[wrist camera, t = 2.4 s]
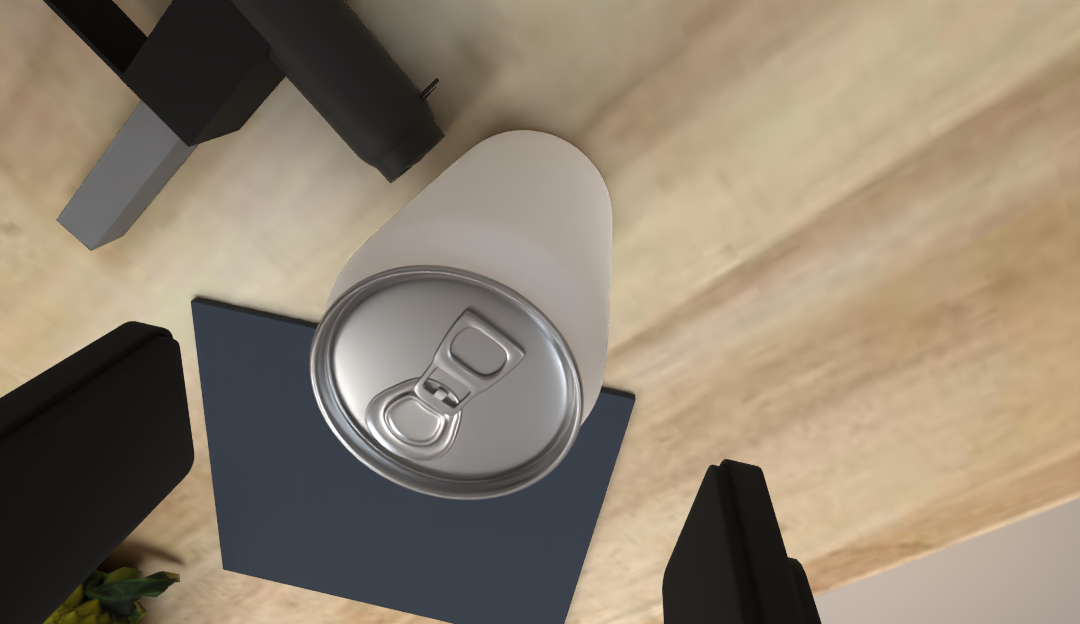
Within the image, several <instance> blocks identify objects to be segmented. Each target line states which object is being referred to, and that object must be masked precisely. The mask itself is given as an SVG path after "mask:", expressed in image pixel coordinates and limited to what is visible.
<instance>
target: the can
mask: <svg viewBox="0 0 1080 624" xmlns="http://www.w3.org/2000/svg"><path fill="white" fill-rule="evenodd" d="M611 260H612V207H611V201H610V197H609V193H608V190H607V187H606V185H605V182H604V180H603V178H602V176H601V175H600V173H599V171H598V170H597V168H596V167H595V166H594V164H593V163H592V162H591V161H590V160H589V158H588V157H587V156H586V155H585V154H583V153H582V152H581V151H580V150H579V149H577V148H576V147H575V146H573V145H572V144H570V143H568V142H567V141H565V140H563V139H561V138H559V137H556V136H553V135H551V134H547V133H543V132H538V131H530V130H517V131H509V132H504V133H500V134H497V135H494V136H492V137H490V138H487V139H485V140H483V141H482V142H480V143H478V144H477V145H475V146H474V147H473V148H471V149H470V150H469V151H467V152H466V153H465V154H464V155H462V156H461V157H460V158H459V159H458V160H457V161H455V162H454V163H453V164H452V165H451V166H450V167H449V168H447V169H446V170H445V171H444V172H443V173H442V174H441V175H439V176H438V177H437V178H436V179H435V180H434V181H433V182H431V183H430V184H429V185H428V186H427V187H426V188H425V189H424V190H422V191H421V192H420V193H419V194H418V195H417V196H416V197H415V198H413V199H412V200H411V201H410V202H409V203H408V204H407V205H406V206H404V207H403V208H402V209H401V210H400V211H399V212H398V213H397V214H396V215H394V216H393V217H392V218H391V219H390V220H389V221H388V222H387V223H386V224H385V225H383V226H382V227H381V228H380V229H379V230H378V231H377V232H376V233H375V234H374V235H373V236H372V237H370V238H369V239H368V240H367V241H366V242H365V243H364V244H363V245H362V246H361V247H360V248H359V249H358V250H357V251H356V253H355V254H354V255H353V256H352V257H351V258H350V260H349V261H348V262H347V264H346V265H345V266H344V268H343V269H342V271H341V272H340V274H339V276H338V277H337V279H336V281H335V283H334V285H333V288H332V290H331V293H330V296H329V299H328V303H327V307H326V312H325V314H324V315H323V317H322V319H321V321H320V322H319V325H318V327H317V329H316V332H315V334H314V337H313V341H312V345H311V351H310V378H311V384H312V389H313V393H314V396H315V399H316V402H317V404H318V407H319V409H320V411H321V413H322V415H323V417H324V419H325V421H326V422H327V424H328V426H329V427H330V429H331V430H332V432H333V433H334V434H335V436H336V437H337V438H338V439H339V441H340V442H341V443H342V444H343V445H344V446H345V447H346V448H347V449H348V450H349V451H350V452H351V453H352V454H353V455H354V456H355V457H356V458H357V459H358V460H360V461H361V462H362V463H363V464H365V465H366V466H367V467H369V468H370V469H372V470H373V471H375V472H376V473H378V474H379V475H381V476H383V477H384V478H386V479H388V480H390V481H392V482H394V483H396V484H398V485H401V486H403V487H405V488H408V489H411V490H413V491H416V492H419V493H423V494H427V495H431V496H435V497H441V498H447V499H458V500H479V499H488V498H495V497H500V496H504V495H508V494H511V493H514V492H517V491H519V490H522V489H524V488H526V487H529V486H530V485H532V484H534V483H536V482H538V481H539V480H541V479H542V478H544V477H545V476H546V475H548V474H549V473H550V472H551V471H552V470H553V469H555V468H556V467H557V466H558V465H559V463H560V462H561V461H562V460H563V459H564V457H565V456H566V455H567V453H568V452H569V450H570V449H571V447H572V445H573V443H574V441H575V439H576V437H577V435H578V432H579V429H580V426H581V425H582V424H583V422H584V421H585V419H586V418H587V417H588V415H589V414H590V412H591V410H592V409H593V407H594V405H595V403H596V400H597V398H598V395H599V393H600V390H601V386H602V382H603V378H604V374H605V368H606V359H607V348H608V331H609V310H610V286H611Z"/></svg>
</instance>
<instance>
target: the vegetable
mask: <svg viewBox="0 0 1080 624" xmlns="http://www.w3.org/2000/svg"><path fill="white" fill-rule="evenodd" d="M140 574H141V571H140V570H139V569H137V568H129V567H122V568H120V569H117V570H115V571H112V572H110V573H108V574H107V573H105V572H103V571H100V572H99V571H98V570H96V569H95V570H94V571H93V572H92V573H91V574H90V575H89V577H88V578H87V579H86V580H85V581H84V582H83V583H82V584H81V585H80V586H79V587H78V588H77V589H76V590H75V591H74V592H73V593H72V594H71V595H70V596H69V597H68V598H67V599H66V600H65V601H64V602H63V603H62V604H61V605H60V606H59V607H58V608H57V609H56V611H55V612H54V613H53V614H52V615H51V616H50V617H49V618H48V619H47V620H46V621H45V622H44V623H43V624H139V619H141V618H142V617H144V616H146V613H147V612H146V611H145V610H143V609H142V608H141V607H140V606H139V604H138V602H137V600H138V599H140V598H141V597H142V596H149V597H157V596H159V595H160V594H162V593H163V592H164V591H165V590H166V589H167V588H168V587H169V586H170V585H172V584H173V583H174V582H180V574H175V573H169V572H164V571H161V572H157V573H155V574H153V575H150V576H148V577H145V578H139V576H140Z"/></svg>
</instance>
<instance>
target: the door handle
mask: <svg viewBox="0 0 1080 624" xmlns="http://www.w3.org/2000/svg"><path fill="white" fill-rule="evenodd" d="M43 1H44V2H45V3H46V4H47V5H48V6H49V7H50V8H51V9H52V10H53V11H54V12H55V13H56V14H57V15H58V16H59V17H60V18H61V19H62V20H63V21H64V22H65V23H66V24H67V25H68V26H69V27H70V28H71V29H72V30H73V31H74V32H75V33H76V34H77V35H78V36H79V37H80V38H81V39H82V40H83V41H84V42H85V43H86V44H87V45H88V46H89V47H90V48H91V49H92V50H93V51H94V52H95V53H96V54H97V55H98V56H99V57H100V58H101V59H102V60H103V61H104V62H105V63H106V64H107V65H108V66H109V67H110V68H111V69H112V70H113V71H114V72H115V73H116V74H117V75H118V76H119V77H120V79H121V80H122V81H123V82H124V83H125V84H126V85H127V86H128V87H129V88H130V89H131V90H132V91H133V92H134V93H135V94H136V95H137V96H138V97H139V98H140V99H141V102H140V103H139V105H138V106H137V107H136V109H135V110H134V112H133V113H132V114H131V116H130V117H129V119H128V120H127V121H126V123H125V124H124V126H123V127H122V128H121V130H120V131H119V133H118V134H117V135H116V137H115V138H114V140H113V141H112V142H111V144H110V145H109V147H108V148H107V149H106V151H105V152H104V154H103V155H102V156H101V158H100V159H99V160H98V162H97V163H96V165H95V166H94V167H93V169H92V170H91V172H90V173H89V174H88V176H87V177H86V179H85V180H84V181H83V183H82V184H81V186H80V187H79V188H78V190H77V191H76V193H75V194H74V195H73V197H72V198H71V200H70V201H69V202H68V204H67V205H66V207H65V208H64V209H63V211H62V212H61V214H60V215H59V216H58V218H57V219H56V220H57V221H58V222H59V223H60V224H61V225H62V226H63V227H65V228H66V229H67V230H68V231H69V232H70V233H71V234H72V235H74V236H75V237H76V238H77V239H78V240H79V241H80V242H81V243H83V244H84V245H85V246H86V247H87V248H88V249H89V250H90V251H92V250H94V249H96V248H98V247H101V246H103V245H105V244H107V243H109V242H111V241H114V240H116V239H118V238H120V237H122V236H123V235H124V234H125V233H126V232H127V231H128V229H129V228H130V227H131V226H132V224H133V223H134V222H135V221H136V220H137V218H138V217H139V216H140V215H141V213H142V212H143V211H144V210H145V209H146V207H147V206H148V205H149V204H150V202H151V201H152V200H153V199H154V198H155V196H156V195H157V194H158V193H159V192H160V190H161V189H162V188H163V187H164V185H165V184H166V183H167V182H168V181H169V179H170V178H171V177H172V176H173V174H174V173H175V172H176V171H177V170H178V168H179V167H180V166H181V165H182V163H183V162H184V161H185V160H186V159H187V157H188V156H189V155H190V154H191V152H192V151H193V150H194V149H195V148H196V146H197V145H198V144H199V143H202V142H205V141H208V140H211V139H214V138H217V137H220V136H223V135H226V134H229V133H232V132H235V131H237V130H240V128H241V127H242V126H243V125H244V124H245V122H246V121H247V120H248V119H249V118H250V117H251V115H252V114H253V113H254V112H255V111H256V110H257V108H258V107H259V106H260V105H261V104H262V103H263V101H264V100H265V99H266V98H267V97H268V96H269V94H270V93H271V92H272V91H273V90H274V89H275V87H276V86H277V85H278V84H279V83H280V82H281V80H282V79H283V78H284V77H285V76H287V78H288V79H289V80H290V81H291V82H292V83H293V84H294V85H295V86H296V88H297V89H298V90H299V91H300V92H301V93H302V94H303V95H304V97H305V98H306V99H307V100H308V101H309V102H310V103H311V104H312V105H313V107H314V108H315V109H316V110H317V111H318V112H319V113H320V114H321V115H322V117H323V118H324V119H325V120H326V121H327V122H328V123H329V124H330V125H331V127H332V128H333V129H334V130H335V131H336V132H337V133H338V134H339V136H340V137H341V138H342V139H343V140H344V141H345V142H346V143H347V144H348V146H349V147H350V148H351V149H352V150H353V151H354V152H355V153H356V154H357V156H358V157H360V158H361V159H362V160H363V161H364V162H366V163H367V164H369V165H371V166H373V167H375V168H377V169H378V170H379V171H380V172H381V173H382V175H383V176H384V177H385V178H386V179H387V180H388V181H389V182H390V183H392V182H393V181H395V180H396V179H397V178H399V177H400V176H401V175H402V174H404V173H405V172H406V171H407V170H408V169H410V168H411V167H412V166H413V165H415V164H416V163H418V162H419V161H420V160H421V159H422V158H423V157H424V156H425V155H426V154H427V153H428V152H429V151H430V150H431V149H432V148H433V147H435V146H436V145H437V144H438V143H439V142H440V141H441V140H442V139H443V138H444V137H445V134H444V133H443V132H442V131H441V129H440V128H439V127H438V126H437V125H436V123H435V122H434V118H433V114H432V111H431V109H430V106H429V105H428V103H427V101H426V100H425V99H426V97H427V96H428V95H429V94H430V93H431V92H432V91H433V90H434V89H435V88H436V87H437V86H436V87H435V88H434V89H433V90H432V91H431V92H430V93H428V94H427V95H426V96H425V97H423V96H424V95H425V94H426V93H427V92H428V91H430V90H431V89H432V88H433V87H434V86H435V85H436V84H437V83H438V82H439V79H438V78H436V79H435V80H434V81H433V82H432V83H431V84H430V85H429V86H428V87H427V88H426V89H425V90H424V91H423V92H422V93H420V92H419V91H418V90H417V88H416V87H415V86H414V85H413V84H412V82H411V81H410V80H409V79H408V78H407V76H406V75H405V74H404V73H403V71H402V70H401V69H400V68H399V67H398V65H397V64H396V63H395V62H394V61H393V59H392V58H391V57H390V56H389V55H388V53H387V52H386V51H385V50H384V49H383V47H382V46H381V45H380V44H379V42H378V41H377V40H376V39H375V38H374V36H373V35H372V34H371V33H370V32H369V30H368V29H367V28H366V27H365V26H364V24H363V23H362V22H361V21H360V20H359V18H358V17H357V16H356V15H355V13H354V12H353V11H352V10H351V9H350V7H349V6H348V5H347V4H346V3H345V1H344V0H173V1H172V3H171V4H170V6H169V7H168V9H167V10H166V12H165V13H164V14H163V16H162V17H161V19H160V20H159V22H158V23H157V25H156V26H155V28H154V29H153V31H152V32H151V34H150V35H149V37H147V36H146V35H145V34H144V33H143V32H142V31H141V30H140V29H139V28H138V27H137V26H136V25H135V24H134V23H133V22H132V21H131V19H130V18H129V17H128V16H127V15H126V14H125V13H124V12H123V11H122V10H121V9H120V8H119V7H118V6H117V5H116V4H115V3H114V2H113V1H112V0H43Z"/></svg>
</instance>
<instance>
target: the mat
mask: <svg viewBox="0 0 1080 624" xmlns="http://www.w3.org/2000/svg"><path fill="white" fill-rule="evenodd" d="M191 307H192V315H193V323H194V332H195V340H196V348H197V356H198V365H199V373H200V381H201V389H202V398H203V406H204V414H205V423H206V431H207V439H208V447H209V456H210V464H211V472H212V480H213V489H214V497H215V505H216V514H217V522H218V530H219V538H220V547H221V555H222V563H223V569H224V570H228V571H232V572H237V573H241V574H245V575H249V576H254V577H258V578H262V579H266V580H271V581H275V582H279V583H283V584H288V585H292V586H296V587H300V588H305V589H309V590H313V591H317V592H322V593H326V594H330V595H334V596H339V597H343V598H347V599H351V600H356V601H360V602H364V603H368V604H373V605H377V606H381V607H385V608H390V609H394V610H398V611H402V612H407V613H411V614H415V615H419V616H424V617H428V618H432V619H436V620H441V621H445V622H449V623H453V624H564V622H565V619H566V616H567V613H568V610H569V607H570V604H571V600H572V597H573V594H574V591H575V588H576V585H577V582H578V578H579V575H580V572H581V569H582V566H583V563H584V560H585V556H586V553H587V550H588V547H589V544H590V541H591V538H592V535H593V531H594V528H595V525H596V522H597V519H598V516H599V513H600V509H601V506H602V503H603V500H604V497H605V494H606V491H607V487H608V484H609V481H610V478H611V475H612V472H613V469H614V465H615V462H616V459H617V456H618V453H619V450H620V447H621V443H622V440H623V437H624V434H625V431H626V428H627V425H628V421H629V418H630V415H631V412H632V409H633V406H634V403H635V395H634V394H629V393H625V392H620V391H616V390H611V389H607V388H602V387H601V390H600V393H599V395H598V398H597V400H596V403H595V405H594V407H593V409H592V410H591V412H590V414H589V415H588V417H587V418H586V419H585V421H584V422H583V424H582V425H581V426H580V429H579V432H578V435H577V437H576V439H575V441H574V443H573V445H572V447H571V449H570V450H569V452H568V453H567V455H566V456H565V457H564V459H563V460H562V461H561V462H560V463H559V465H558V466H557V467H556V468H555V469H553V470H552V471H551V472H550V473H549V474H548V475H546V476H545V477H544V478H542V479H541V480H539V481H538V482H536V483H534V484H532V485H530V486H529V487H526V488H524V489H522V490H519V491H517V492H514V493H511V494H508V495H504V496H500V497H495V498H488V499H479V500H458V499H447V498H441V497H435V496H431V495H427V494H423V493H419V492H416V491H413V490H411V489H408V488H405V487H403V486H401V485H398V484H396V483H394V482H392V481H390V480H388V479H386V478H384V477H383V476H381V475H379V474H378V473H376V472H375V471H373V470H372V469H370V468H369V467H367V466H366V465H365V464H363V463H362V462H361V461H360V460H358V459H357V458H356V457H355V456H354V455H353V454H352V453H351V452H350V451H349V450H348V449H347V448H346V447H345V446H344V445H343V444H342V443H341V442H340V441H339V439H338V438H337V437H336V436H335V434H334V433H333V432H332V430H331V429H330V427H329V426H328V424H327V422H326V421H325V419H324V417H323V415H322V413H321V411H320V409H319V407H318V404H317V402H316V399H315V396H314V393H313V389H312V384H311V378H310V351H311V345H312V341H313V337H314V334H315V332H316V329H317V327H318V324H314V323H309V322H305V321H300V320H296V319H291V318H287V317H282V316H278V315H273V314H269V313H264V312H260V311H255V310H251V309H246V308H242V307H237V306H233V305H228V304H224V303H219V302H215V301H210V300H206V299H201V298H195V299H193V300H192V301H191Z"/></svg>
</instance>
